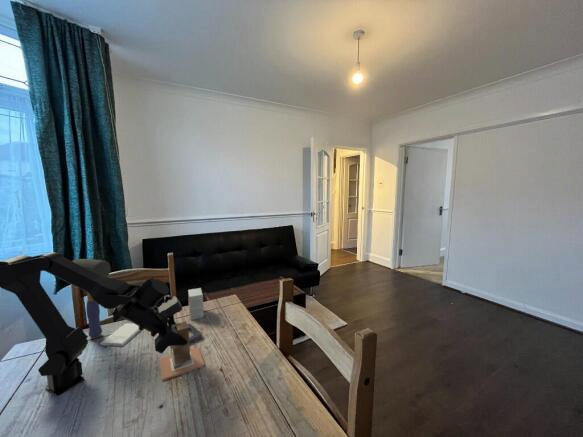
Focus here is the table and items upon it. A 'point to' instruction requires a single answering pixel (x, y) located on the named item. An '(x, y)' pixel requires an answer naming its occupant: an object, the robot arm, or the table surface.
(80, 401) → the table surface
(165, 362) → the pad
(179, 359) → the walnut post
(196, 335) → the frame
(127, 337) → the external hard drive
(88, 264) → the rubber mallet
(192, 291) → the small box
